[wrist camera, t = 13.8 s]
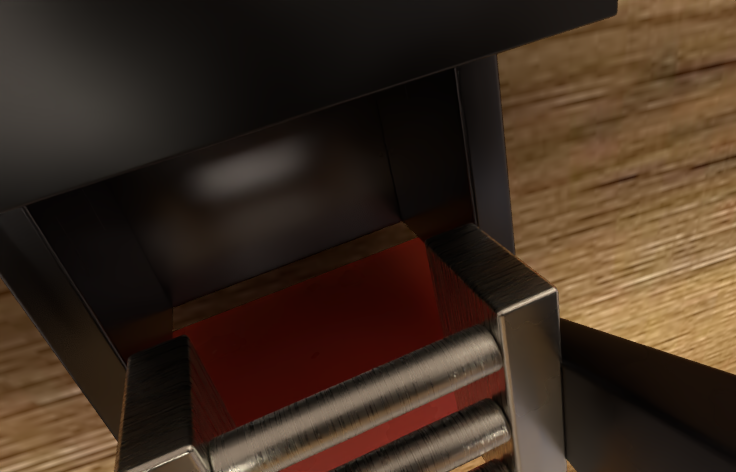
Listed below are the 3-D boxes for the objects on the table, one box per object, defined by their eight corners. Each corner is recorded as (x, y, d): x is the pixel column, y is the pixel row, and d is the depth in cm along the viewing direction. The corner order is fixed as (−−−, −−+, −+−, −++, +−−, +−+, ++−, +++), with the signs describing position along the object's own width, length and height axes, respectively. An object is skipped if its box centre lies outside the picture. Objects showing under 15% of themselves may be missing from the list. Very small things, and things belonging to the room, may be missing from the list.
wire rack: (234, 530, 8) (250, 666, 7) (126, 353, 6) (109, 484, 5) (497, 405, 9) (569, 498, 8) (470, 219, 7) (560, 286, 6)
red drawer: (463, 363, 19) (565, 495, 14) (216, 473, 17) (234, 667, 12) (356, -240, 10) (522, -446, 6) (-151, -145, 9) (-574, -322, 4)
